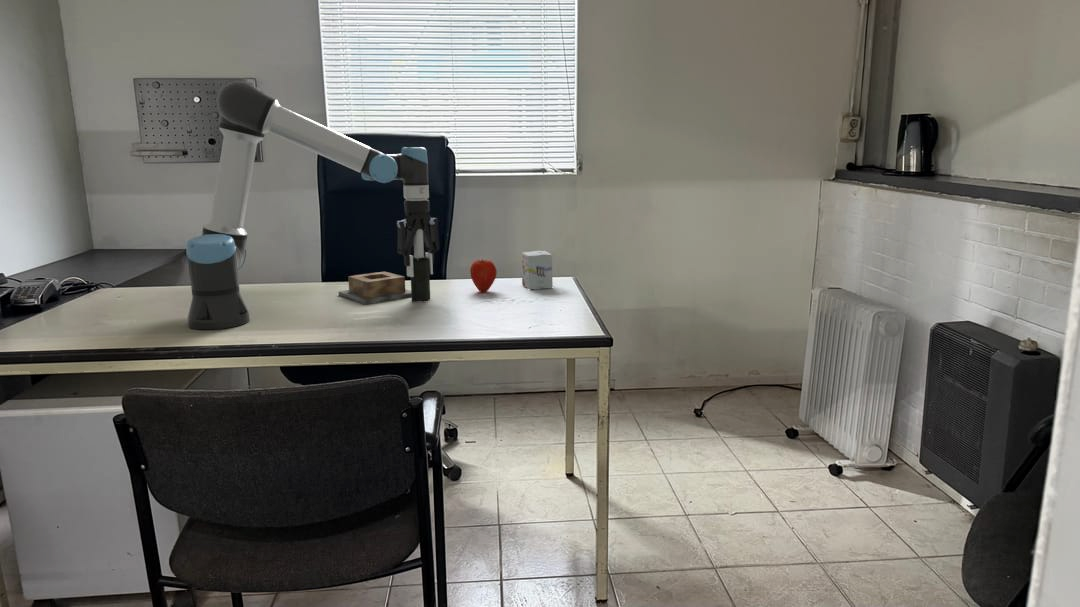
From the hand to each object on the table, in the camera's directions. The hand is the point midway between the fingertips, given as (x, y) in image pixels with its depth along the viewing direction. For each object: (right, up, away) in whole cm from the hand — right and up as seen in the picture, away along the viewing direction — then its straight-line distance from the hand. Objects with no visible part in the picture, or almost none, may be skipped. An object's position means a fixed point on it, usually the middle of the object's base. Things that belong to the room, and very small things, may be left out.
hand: (420, 274), depth 211 cm
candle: (0, -8, +2) cm, 8 cm away
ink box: (+36, -3, +21) cm, 42 cm away
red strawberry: (+19, -5, +14) cm, 24 cm away
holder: (-15, -6, +8) cm, 18 cm away
